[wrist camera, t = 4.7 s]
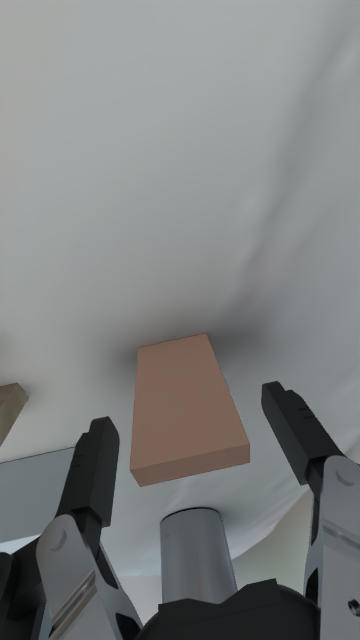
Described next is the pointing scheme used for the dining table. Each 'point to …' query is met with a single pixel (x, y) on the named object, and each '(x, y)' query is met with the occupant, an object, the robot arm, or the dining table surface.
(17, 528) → the end block
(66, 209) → the dining table surface
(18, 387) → the domino
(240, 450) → the domino
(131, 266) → the dining table surface
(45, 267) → the dining table surface
